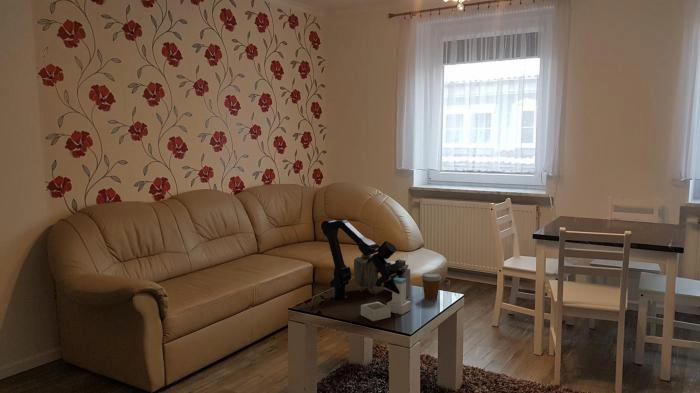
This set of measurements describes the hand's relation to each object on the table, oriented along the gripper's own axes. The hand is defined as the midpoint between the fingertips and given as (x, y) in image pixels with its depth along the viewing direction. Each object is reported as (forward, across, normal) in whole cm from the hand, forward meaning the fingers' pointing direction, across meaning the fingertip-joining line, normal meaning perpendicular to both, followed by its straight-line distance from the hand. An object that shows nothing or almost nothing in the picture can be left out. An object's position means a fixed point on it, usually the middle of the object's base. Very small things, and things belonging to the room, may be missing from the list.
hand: (401, 292), depth 231 cm
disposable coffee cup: (+8, +25, +5) cm, 27 cm away
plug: (+4, 0, +6) cm, 7 cm away
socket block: (+2, -12, +11) cm, 16 cm away
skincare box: (-8, +26, +21) cm, 34 cm away
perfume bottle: (-2, +20, +15) cm, 25 cm away
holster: (+5, 0, +7) cm, 9 cm away
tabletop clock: (-15, +16, +28) cm, 36 cm away
